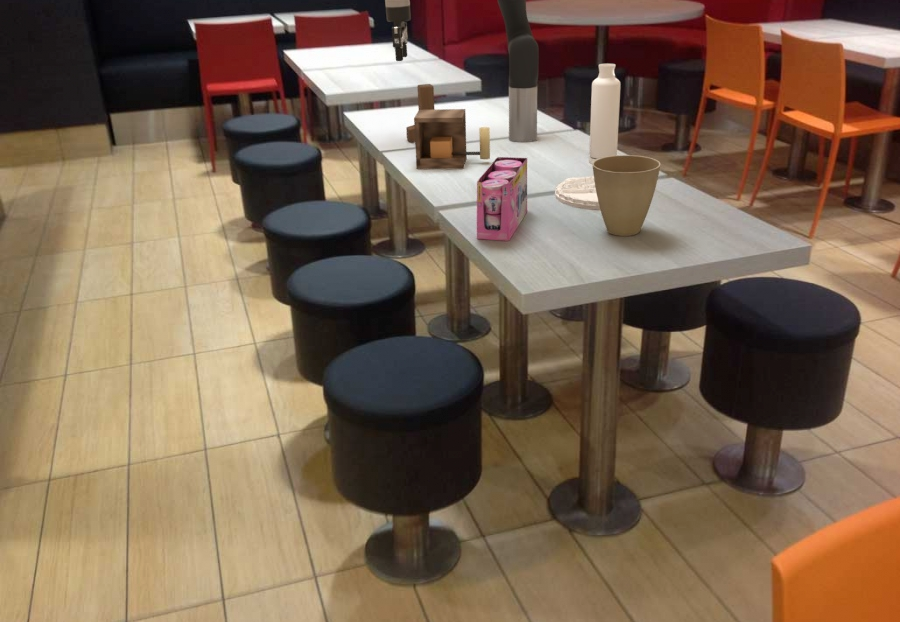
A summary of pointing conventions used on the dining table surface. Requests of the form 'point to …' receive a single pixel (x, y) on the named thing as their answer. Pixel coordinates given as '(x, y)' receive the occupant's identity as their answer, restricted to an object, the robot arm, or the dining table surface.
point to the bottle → (604, 114)
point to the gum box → (501, 198)
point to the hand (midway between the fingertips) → (401, 58)
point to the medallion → (578, 193)
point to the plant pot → (625, 191)
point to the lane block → (443, 149)
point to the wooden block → (422, 106)
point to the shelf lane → (440, 126)
